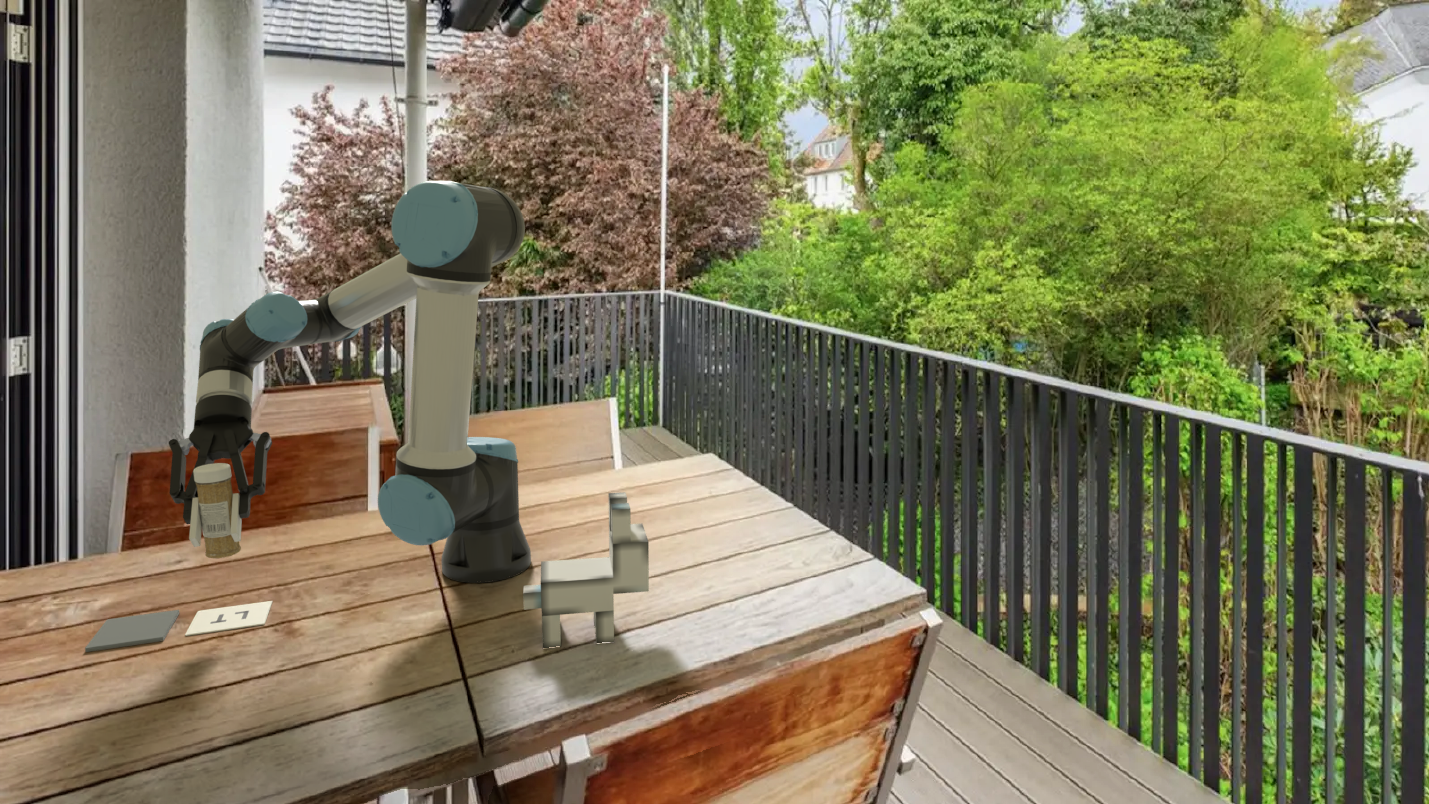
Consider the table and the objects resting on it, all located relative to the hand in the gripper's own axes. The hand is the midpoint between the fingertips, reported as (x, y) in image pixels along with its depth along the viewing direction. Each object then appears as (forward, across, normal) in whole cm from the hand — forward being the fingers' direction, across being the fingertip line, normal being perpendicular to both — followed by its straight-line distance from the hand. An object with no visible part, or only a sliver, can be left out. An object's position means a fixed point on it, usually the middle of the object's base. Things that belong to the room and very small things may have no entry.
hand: (215, 539), depth 111 cm
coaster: (+7, +12, -12) cm, 19 cm away
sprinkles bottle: (0, 0, -5) cm, 5 cm away
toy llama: (+24, -49, +3) cm, 54 cm away
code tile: (+7, 0, -12) cm, 14 cm away
